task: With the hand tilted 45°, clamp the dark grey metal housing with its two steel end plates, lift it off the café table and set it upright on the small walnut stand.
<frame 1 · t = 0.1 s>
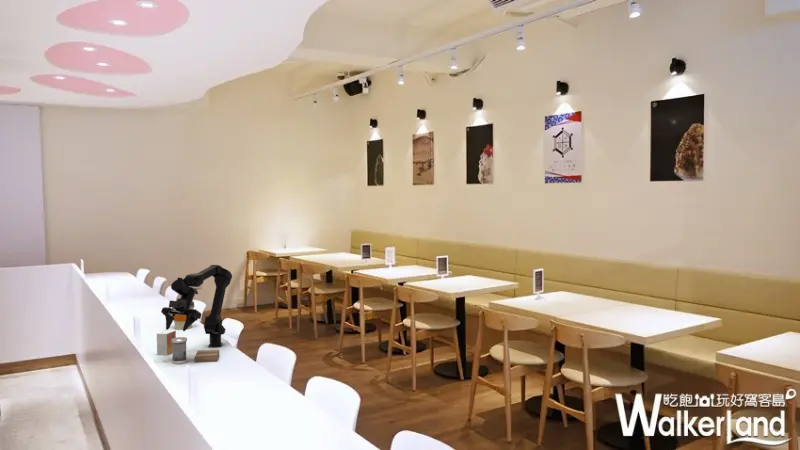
hand: (175, 330, 273), 15 cm above the table, tool tilted 35°, fingers open, 9 cm apart
small box: (166, 353, 290), on the table
stand: (207, 359, 279), on the table
reusable coffee cup: (183, 328, 343), on the table
housing: (179, 362, 274), on the table
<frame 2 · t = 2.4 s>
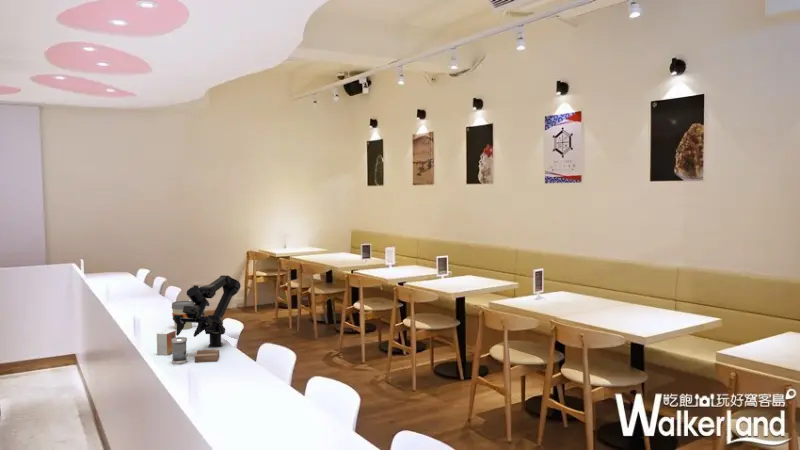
hand: (185, 335, 278), 11 cm above the table, tool tilted 45°, fingers open, 9 cm apart
nothing on the table moved.
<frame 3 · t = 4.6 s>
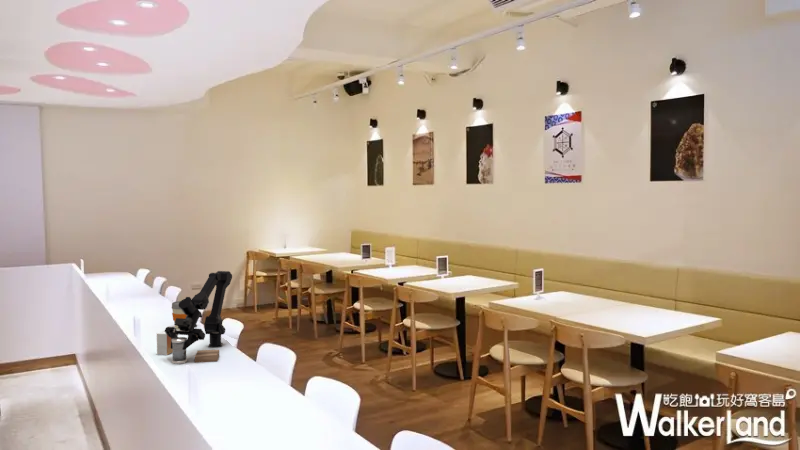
hand: (177, 348, 272), 7 cm above the table, tool tilted 45°, fingers closed on housing, 6 cm apart
housing: (179, 362, 274), on the table, touching gripper
everything else where it was.
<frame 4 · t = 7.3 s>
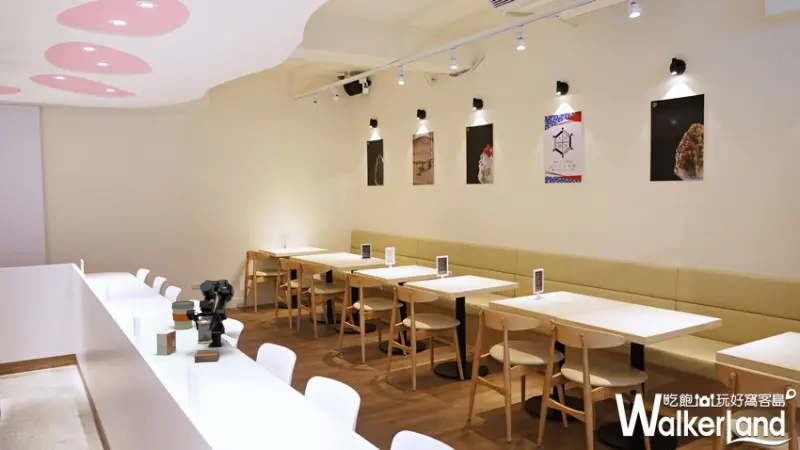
hand: (203, 329, 283), 13 cm above the table, tool tilted 45°, fingers closed on housing, 6 cm apart
housing: (204, 342, 285), point 6 cm above the table, touching gripper
everything else where it was.
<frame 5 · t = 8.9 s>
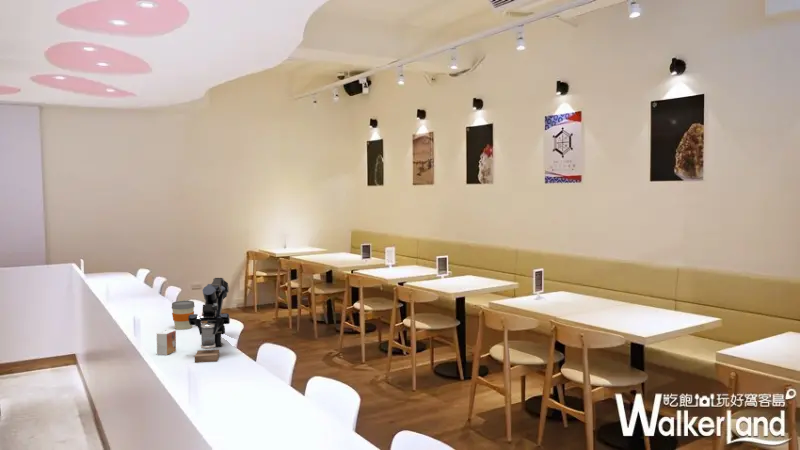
hand: (207, 334, 280), 12 cm above the table, tool tilted 45°, fingers closed on housing, 6 cm apart
housing: (208, 347, 282), point 5 cm above the table, touching gripper
everything else where it was.
when the fingers open (11 cm above the table, at t = 10.3 s): housing drops 1 cm, resting on stand.
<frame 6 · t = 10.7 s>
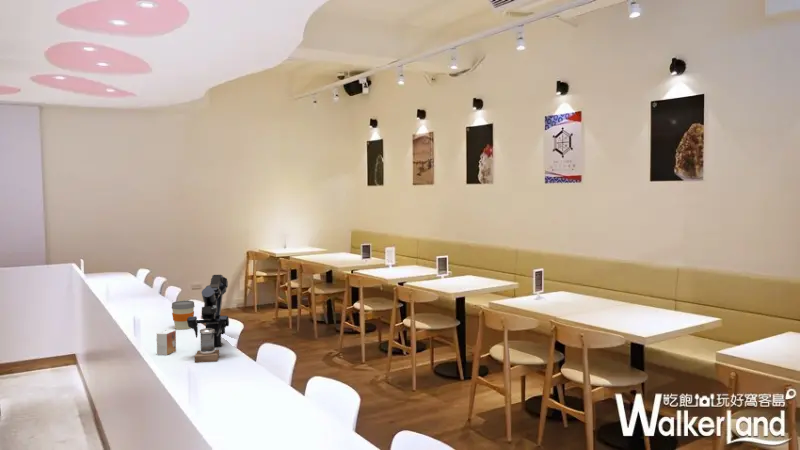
hand: (206, 336, 277), 11 cm above the table, tool tilted 45°, fingers open, 9 cm apart
housing: (207, 352, 279), point 3 cm above the table, touching stand
everything else where it was.
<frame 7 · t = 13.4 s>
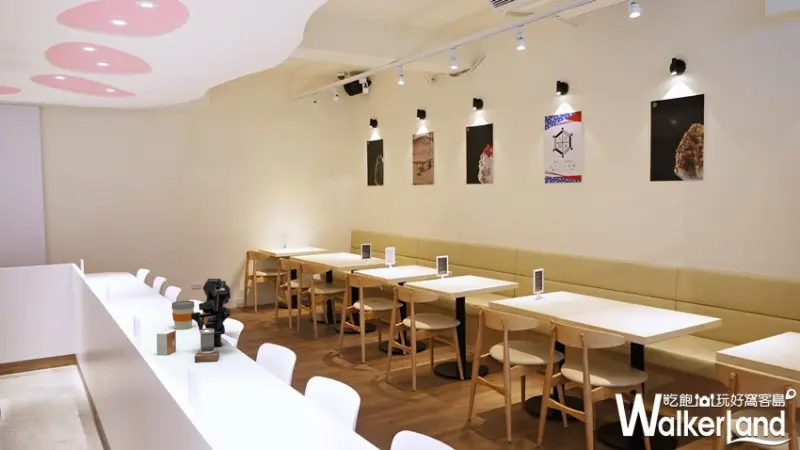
hand: (209, 330, 287), 12 cm above the table, tool tilted 35°, fingers open, 9 cm apart
nothing on the table moved.
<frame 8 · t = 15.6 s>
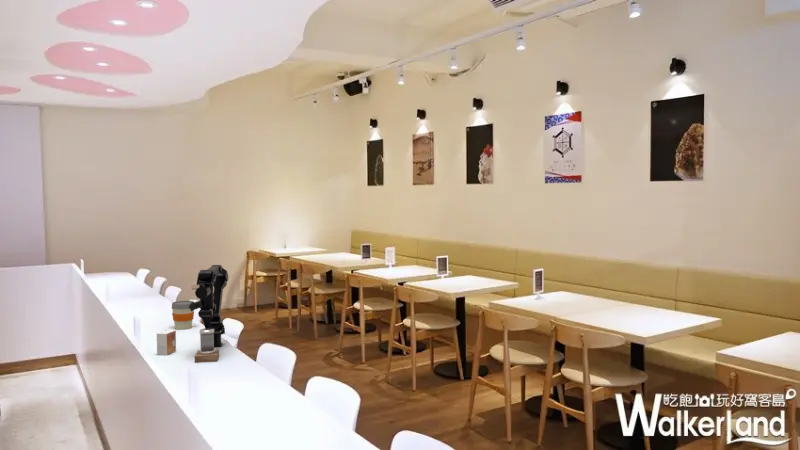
hand: (207, 326, 289), 13 cm above the table, tool pointing down, fingers open, 9 cm apart
nothing on the table moved.
at the end: housing 0.1 cm off-centre on the stand, point 3.0 cm above the stand's base; housing tilted 1°; the gripper is holding nothing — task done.
